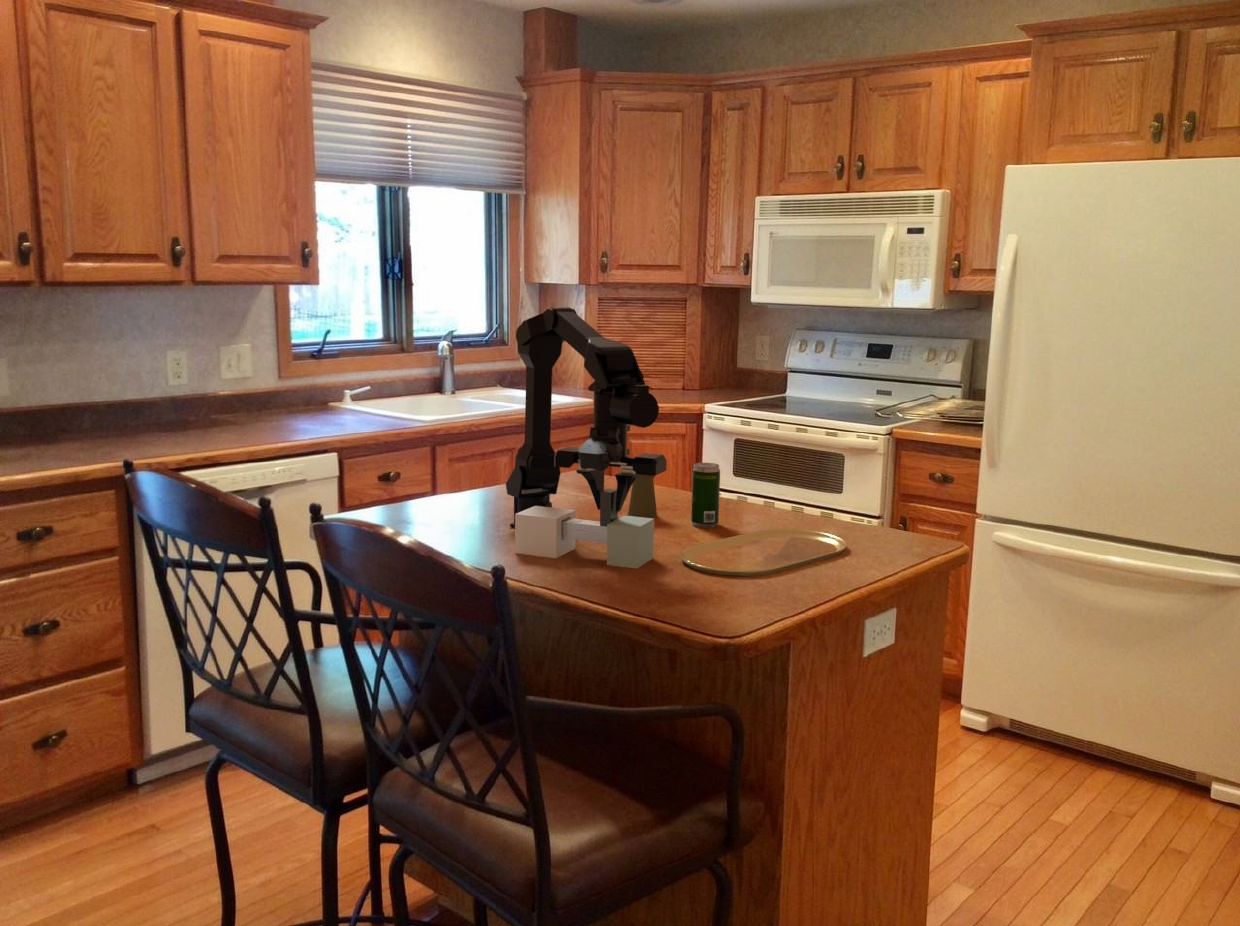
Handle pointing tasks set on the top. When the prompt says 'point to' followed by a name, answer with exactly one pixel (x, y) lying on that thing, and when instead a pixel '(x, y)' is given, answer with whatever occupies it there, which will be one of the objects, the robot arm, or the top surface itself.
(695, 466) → the beer can
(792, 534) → the serving platter
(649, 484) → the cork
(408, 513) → the top surface
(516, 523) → the sleeve
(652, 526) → the socket block
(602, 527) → the grey bridging bar
